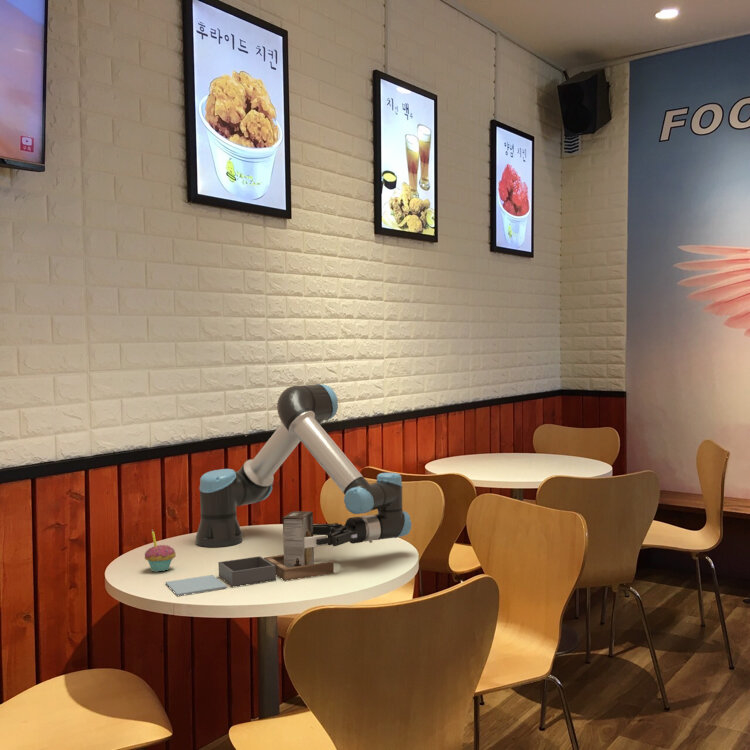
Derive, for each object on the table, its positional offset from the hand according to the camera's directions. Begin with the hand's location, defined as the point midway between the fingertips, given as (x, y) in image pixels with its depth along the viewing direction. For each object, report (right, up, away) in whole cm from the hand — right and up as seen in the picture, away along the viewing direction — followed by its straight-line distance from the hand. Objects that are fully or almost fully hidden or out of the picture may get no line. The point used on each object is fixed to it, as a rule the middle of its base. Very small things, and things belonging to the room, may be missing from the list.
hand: (294, 538), depth 223 cm
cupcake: (-39, -10, +5) cm, 41 cm away
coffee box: (+1, -10, +1) cm, 10 cm away
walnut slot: (+1, -9, +1) cm, 9 cm away
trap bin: (-12, -10, -6) cm, 17 cm away
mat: (-25, -10, -13) cm, 30 cm away
